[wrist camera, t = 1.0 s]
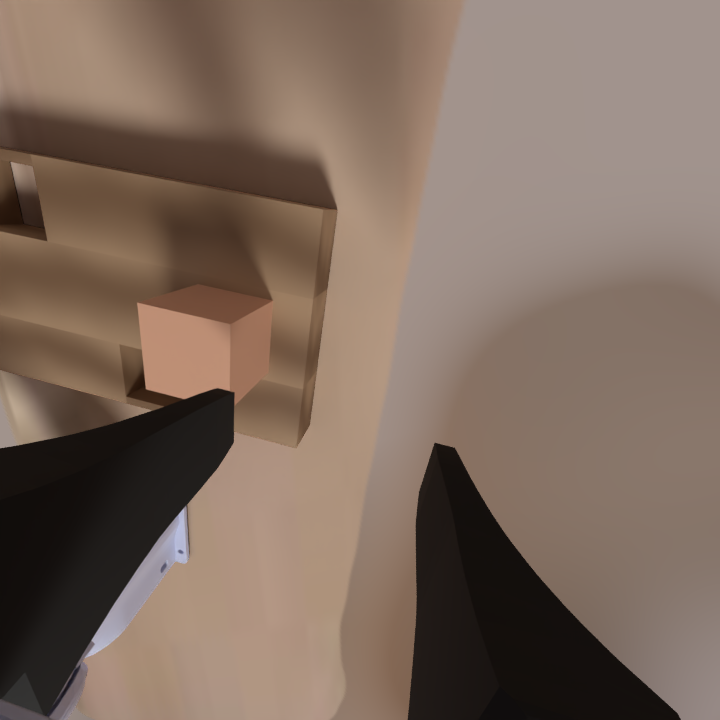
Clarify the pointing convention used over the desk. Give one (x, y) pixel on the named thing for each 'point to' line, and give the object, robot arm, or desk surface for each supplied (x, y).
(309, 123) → the desk surface
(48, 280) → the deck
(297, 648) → the desk surface
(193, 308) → the block
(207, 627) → the desk surface
